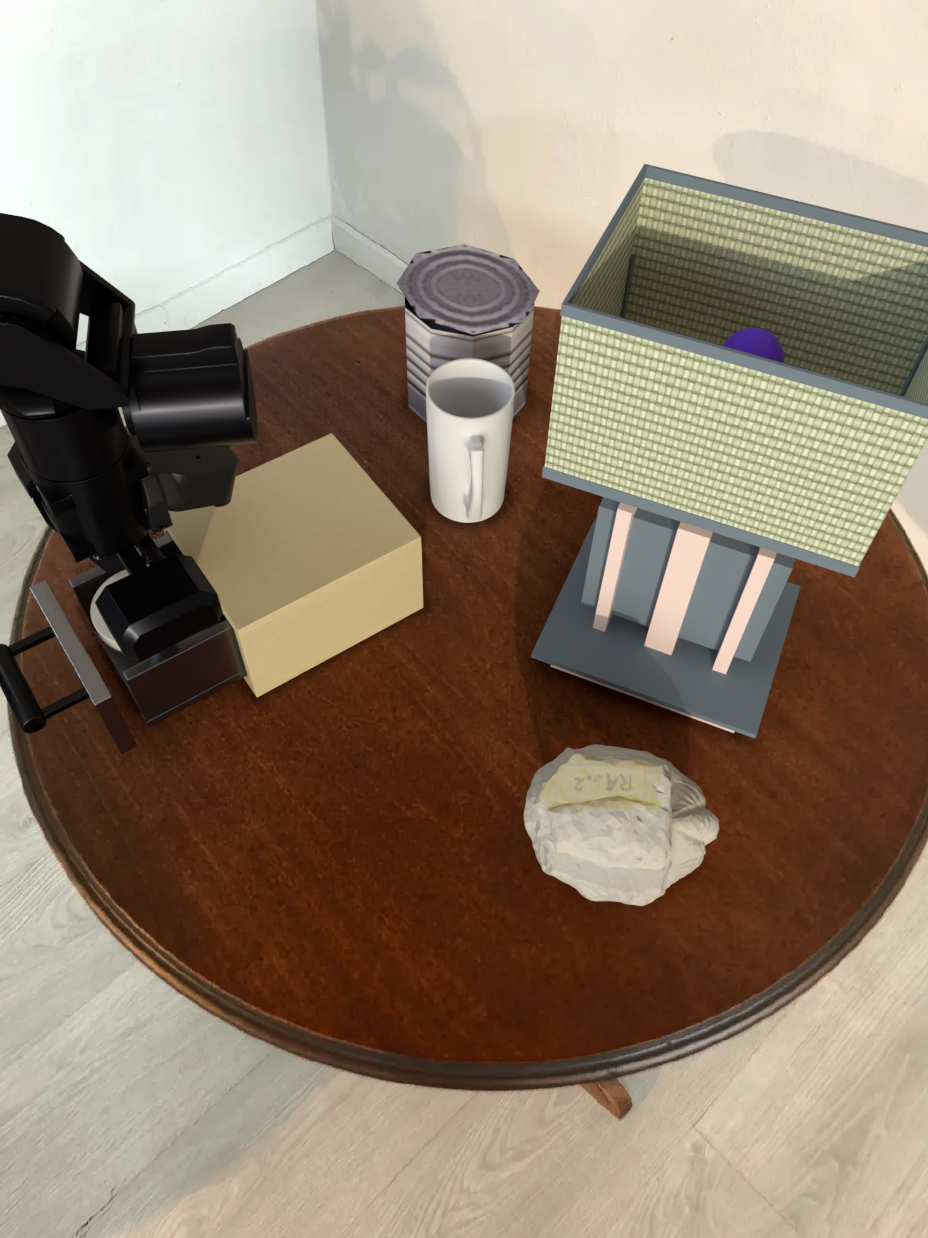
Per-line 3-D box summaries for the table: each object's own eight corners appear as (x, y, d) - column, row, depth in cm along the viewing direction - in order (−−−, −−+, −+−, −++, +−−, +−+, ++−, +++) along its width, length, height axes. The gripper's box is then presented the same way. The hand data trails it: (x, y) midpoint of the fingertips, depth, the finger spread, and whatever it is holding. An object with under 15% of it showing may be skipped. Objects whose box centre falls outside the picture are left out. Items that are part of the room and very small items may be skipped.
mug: (425, 468, 88) (422, 359, 78) (502, 464, 88) (509, 355, 78) (433, 559, 82) (431, 454, 72) (515, 554, 82) (525, 449, 73)
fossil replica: (729, 887, 67) (653, 767, 73) (764, 822, 60) (678, 697, 66) (565, 952, 63) (499, 820, 69) (585, 890, 57) (511, 751, 63)
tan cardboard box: (257, 697, 74) (237, 631, 67) (181, 584, 80) (156, 511, 73) (423, 607, 79) (421, 536, 72) (341, 507, 85) (331, 432, 78)
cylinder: (121, 675, 68) (114, 661, 67) (82, 607, 71) (74, 592, 70) (213, 629, 70) (208, 614, 69) (170, 565, 74) (165, 549, 72)
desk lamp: (519, 668, 76) (559, 307, 49) (581, 536, 84) (645, 161, 57) (758, 756, 72) (943, 415, 45) (801, 608, 80) (981, 242, 53)
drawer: (58, 789, 69) (24, 740, 63) (-2, 671, 74) (-38, 617, 69) (292, 663, 75) (280, 609, 69) (222, 563, 80) (206, 505, 75)
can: (423, 342, 97) (421, 231, 88) (539, 363, 96) (550, 253, 86) (388, 422, 91) (382, 312, 81) (512, 447, 89) (520, 337, 80)
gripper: (282, 488, 55) (312, 647, 68) (139, 307, 64) (189, 478, 77) (89, 578, 52) (159, 729, 64) (-35, 373, 60) (48, 541, 73)
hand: (142, 608), depth 70 cm, fingers closed on cylinder, 7 cm apart
